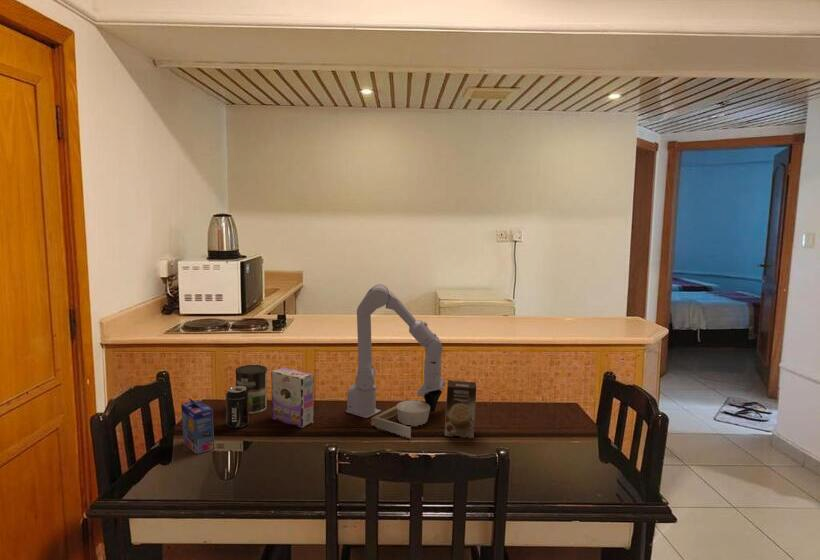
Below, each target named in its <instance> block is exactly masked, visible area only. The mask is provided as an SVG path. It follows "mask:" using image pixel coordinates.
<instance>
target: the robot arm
mask: <svg viewBox="0 0 820 560" xmlns="http://www.w3.org/2000/svg"><path fill="white" fill-rule="evenodd" d="M382 307H385V309H388V310H392V311H394V312H395V313H396V314H397V315H398V316H399V317H400V318H401V319H402V321H404V323H406V325H408V332H409V334H410V335H411V336H412V337H413V338H414V339H415V341H416V342H417V343H418V344H419V345H420V346H421V347H423V348H424V351H425V354H424V355H425V356H424V357H425V358H424V364H423V366H424V369H423V384H422V385H421V387H420V388H419V389H418V390H417V396H418V397H422V398H424V402H425V403H427V404H429V406H430V411H429V413H434V412H435V411H436V408H437V404H438V401H439V398H440V396H441V395H442V394H443V391H442V390H443V389H444V387H446V380H444V379H442V378H441V377H442V353H443V351H444V348H443V345H442V342H441V339H440V338H439V337H438V336H437V334H436V333H433V332H432V330H431V329H430V328H429V327H428V322H426V321H423V320H421V319H417V318H415V317H414V315H413V314H412V313H411V312H410V311H409V309H408V308H407V307H406V306H405V305H404V303H403V302H402V301H401V299H399V298H398V296H396V295H395V294H394V292H393V291H391V290H389V288H388V287H387V286H386V285H385V284H380V283H379V284H376V285H374V286H372V287H371V288H370V289H369V290H368V291H367V292H366V294H365V295H364V297H363V298H362V300H361V301H360V303H359V304H358V306H357V308H356V326H357V328H356V330H357V331H356V333H357V358H358V359H357V360H358V363H357V371H356V376H355V379H354V380H355V381H354V382H355V384H352V385H351V386H349V388H348V391H347V396H346V397H347V399H346V402H347V404H346V405H347V406H346V407H347V409H346V410H345V412H346V413H348V414H352V415H353V416H354V415H355V416H358V417H360V418H365V419H368V418H370V417H371V418H372V416H373V417H374V416H376V415H378V414H380V412H381V413H382V410H381V409H378V408H376V405H377V404H376V401H377V399H376V398H377V386H376V384H375V377H376V370H375V368H374V365H373V352H372V349H373V347H372V345H373V344H372V317H371V315H372V314H373V313H374V312H375V311H376V310H378V309H380V308H382Z"/></svg>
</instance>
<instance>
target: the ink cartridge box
mask: <svg viewBox="0 0 820 560" xmlns="http://www.w3.org/2000/svg"><path fill="white" fill-rule="evenodd" d="M188 400H189V401H187V402H186V401H185V402H182V403H181V404H180V405H181V420H182V421H181V422H182V423H181V424H182V441H183V444H184V445H185V446H186V447H188V448H189V449H190V450H191V451H192V452H193V453H194V454H196V455H199V454H201V453H205V452H208V451H211V450H215V435H214V418H213V417H214V416H213V408H212V407H210V406H209V405H207V404H205V403H204V402H203V401H201V400H200V399H195V400H193V399H191V398H190V397H188Z"/></svg>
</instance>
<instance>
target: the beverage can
mask: <svg viewBox="0 0 820 560" xmlns="http://www.w3.org/2000/svg"><path fill="white" fill-rule="evenodd" d="M225 419H226V420H225V421H226V422H225V423H226V424H225V425H226V426H227V427H229V428H231V429H241V428H243V427H245V426H247V425H248V424H249V422H250V414H249V394H248V391H247V390H246V387H244V386H236V385H235V386H230V387H228V388H227V392H226V393H225Z"/></svg>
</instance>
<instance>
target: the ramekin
mask: <svg viewBox="0 0 820 560" xmlns="http://www.w3.org/2000/svg"><path fill="white" fill-rule="evenodd" d="M395 406H396V410H397V420H398V422H399V423H400V422H401V423H402V424H401V423H400V424H401V425H403V424H405V426H406V425H411V426H410V427H419V426H418V425H421V426H423V425H422V424H424V425H425V424H426V423H427V422H428V420H429V415H430V406H429V404H427V403H426V401H420V400H404V401H400V402H398V403H397V404H396V405H395Z"/></svg>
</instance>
